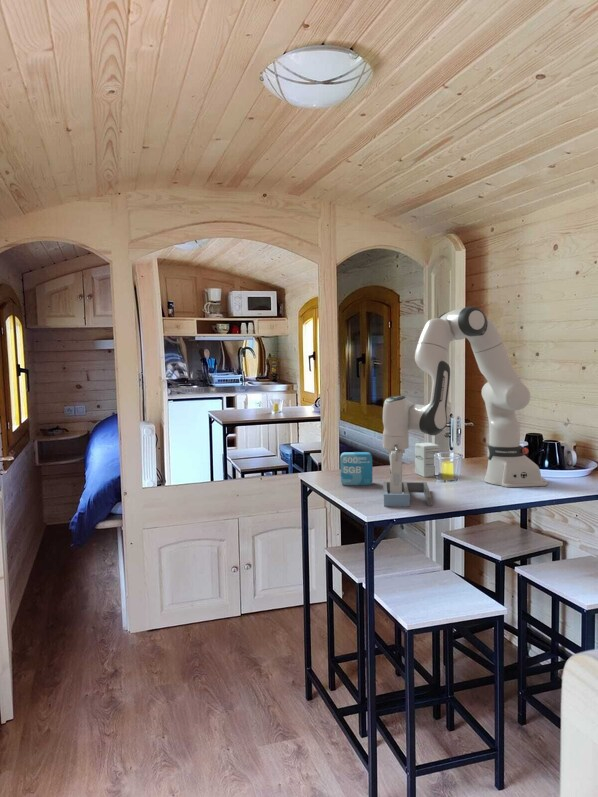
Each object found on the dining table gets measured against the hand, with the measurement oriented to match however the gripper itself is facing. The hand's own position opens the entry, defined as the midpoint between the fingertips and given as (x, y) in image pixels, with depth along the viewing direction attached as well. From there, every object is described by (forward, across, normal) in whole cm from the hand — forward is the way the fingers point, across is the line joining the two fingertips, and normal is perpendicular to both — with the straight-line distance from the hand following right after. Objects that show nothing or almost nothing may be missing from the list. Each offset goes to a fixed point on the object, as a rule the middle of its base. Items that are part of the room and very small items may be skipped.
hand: (395, 482), depth 211 cm
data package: (+6, +20, +14) cm, 25 cm away
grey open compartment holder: (+6, 0, -4) cm, 7 cm away
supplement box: (+6, +37, -14) cm, 40 cm away
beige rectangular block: (+6, 0, 0) cm, 6 cm away
